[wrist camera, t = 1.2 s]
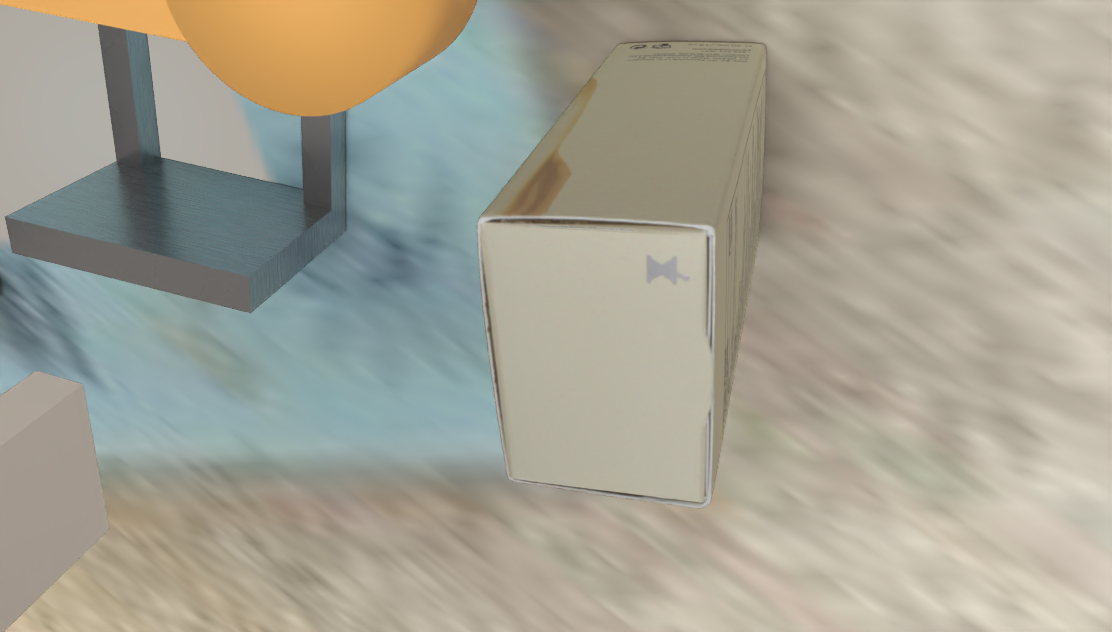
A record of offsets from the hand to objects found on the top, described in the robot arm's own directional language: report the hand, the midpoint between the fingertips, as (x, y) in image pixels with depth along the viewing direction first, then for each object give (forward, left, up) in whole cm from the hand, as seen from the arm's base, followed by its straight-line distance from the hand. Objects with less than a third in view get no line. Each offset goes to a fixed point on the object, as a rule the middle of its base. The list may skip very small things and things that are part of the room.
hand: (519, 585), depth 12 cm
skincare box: (0, 0, -18) cm, 18 cm away
